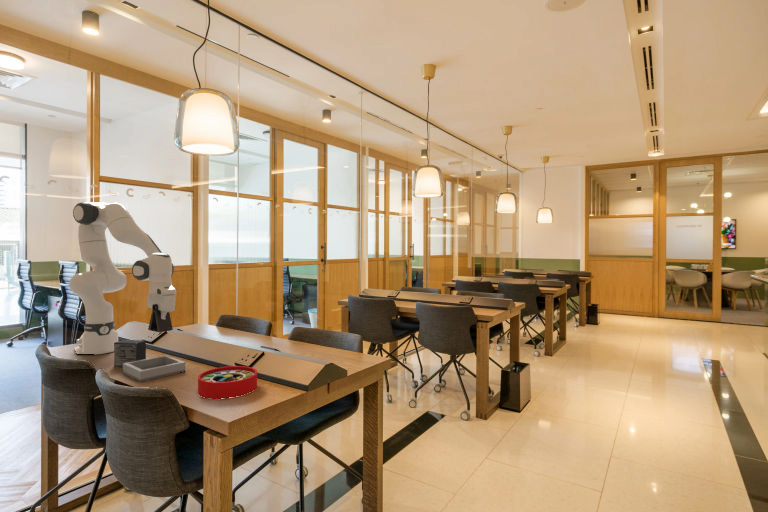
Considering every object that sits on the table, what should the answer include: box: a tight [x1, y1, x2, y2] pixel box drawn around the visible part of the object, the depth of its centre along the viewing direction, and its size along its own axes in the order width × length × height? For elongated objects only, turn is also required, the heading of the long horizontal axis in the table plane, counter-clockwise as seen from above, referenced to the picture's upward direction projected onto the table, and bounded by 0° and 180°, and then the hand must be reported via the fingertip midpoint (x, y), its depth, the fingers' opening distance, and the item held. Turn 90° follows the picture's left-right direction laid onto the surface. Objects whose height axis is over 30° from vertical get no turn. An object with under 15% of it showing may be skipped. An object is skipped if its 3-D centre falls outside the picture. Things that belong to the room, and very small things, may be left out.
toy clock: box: [197, 365, 258, 400], centre depth 150 cm, size 20×6×20 cm
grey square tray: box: [122, 354, 186, 383], centre depth 169 cm, size 17×17×4 cm
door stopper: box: [147, 304, 174, 333], centre depth 187 cm, size 9×6×12 cm, turn 59°
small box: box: [113, 339, 147, 368], centre depth 179 cm, size 11×6×10 cm, turn 84°
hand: (160, 319), depth 187 cm, fingers closed on door stopper, 3 cm apart
